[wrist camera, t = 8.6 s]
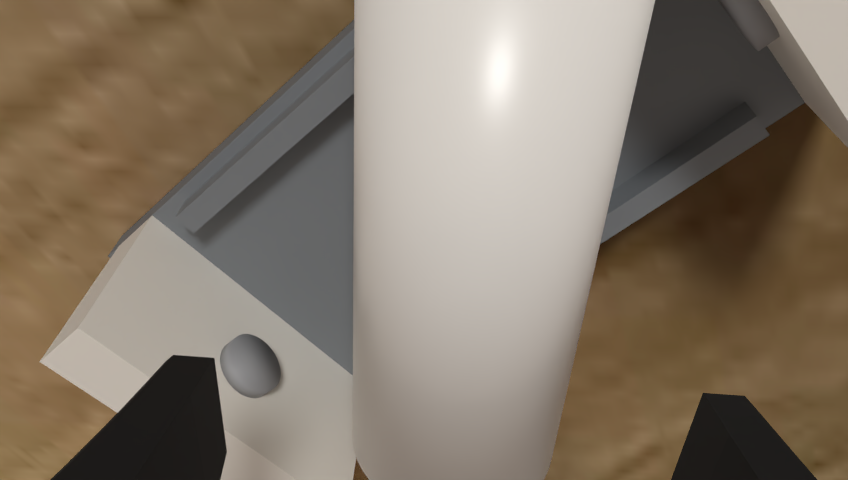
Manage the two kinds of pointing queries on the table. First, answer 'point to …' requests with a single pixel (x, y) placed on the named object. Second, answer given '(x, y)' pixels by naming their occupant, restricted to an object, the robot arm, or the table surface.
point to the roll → (479, 222)
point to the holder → (334, 218)
